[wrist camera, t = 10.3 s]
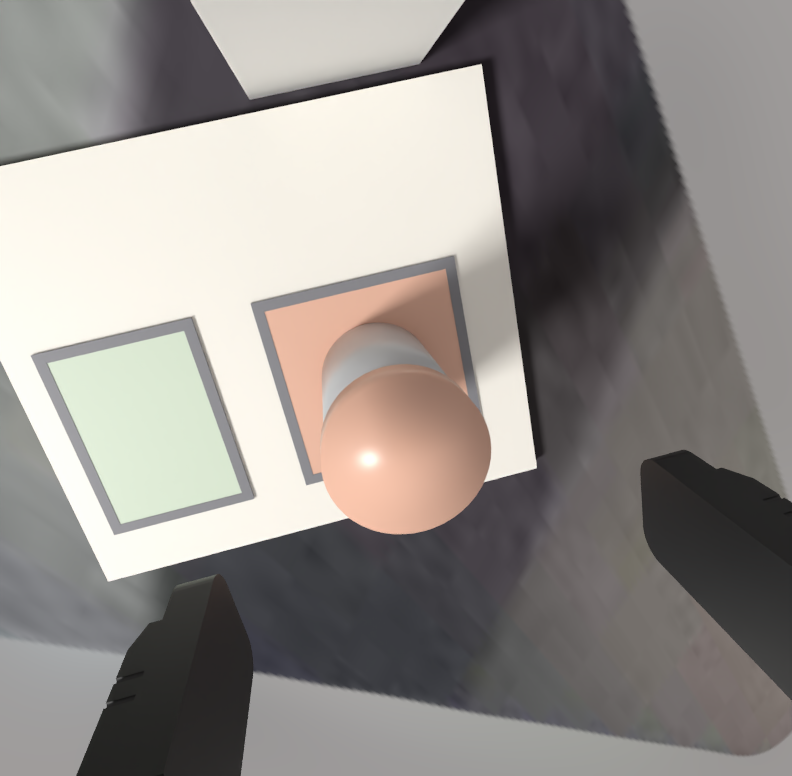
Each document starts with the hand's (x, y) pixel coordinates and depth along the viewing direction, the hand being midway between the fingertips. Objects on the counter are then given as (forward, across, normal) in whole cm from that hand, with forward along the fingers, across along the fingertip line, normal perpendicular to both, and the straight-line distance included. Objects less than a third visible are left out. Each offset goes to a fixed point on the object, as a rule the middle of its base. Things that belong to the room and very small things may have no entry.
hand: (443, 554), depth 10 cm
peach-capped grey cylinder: (+12, 0, 0) cm, 12 cm away
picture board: (+13, +4, -2) cm, 13 cm away
